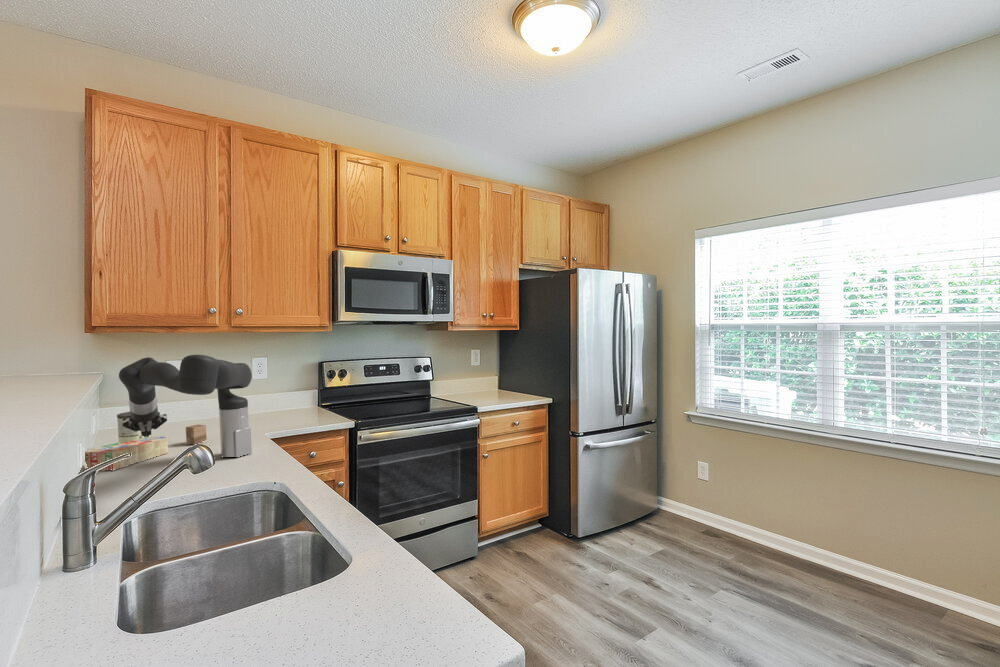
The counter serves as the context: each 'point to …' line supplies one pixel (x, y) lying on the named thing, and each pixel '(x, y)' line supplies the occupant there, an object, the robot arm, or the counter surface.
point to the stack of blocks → (138, 448)
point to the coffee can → (127, 430)
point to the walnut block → (195, 434)
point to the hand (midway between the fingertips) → (146, 434)
